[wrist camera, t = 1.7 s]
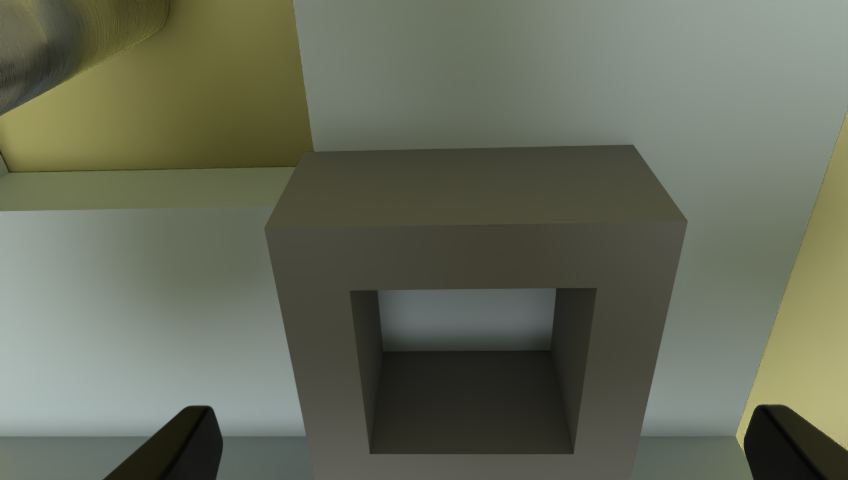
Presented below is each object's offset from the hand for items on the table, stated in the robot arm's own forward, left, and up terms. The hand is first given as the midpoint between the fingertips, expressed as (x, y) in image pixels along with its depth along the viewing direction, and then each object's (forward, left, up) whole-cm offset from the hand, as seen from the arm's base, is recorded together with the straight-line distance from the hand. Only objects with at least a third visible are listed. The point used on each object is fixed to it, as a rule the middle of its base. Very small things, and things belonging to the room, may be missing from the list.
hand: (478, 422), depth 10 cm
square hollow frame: (0, 0, -4) cm, 4 cm away
